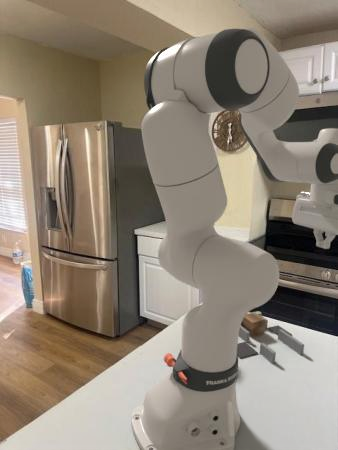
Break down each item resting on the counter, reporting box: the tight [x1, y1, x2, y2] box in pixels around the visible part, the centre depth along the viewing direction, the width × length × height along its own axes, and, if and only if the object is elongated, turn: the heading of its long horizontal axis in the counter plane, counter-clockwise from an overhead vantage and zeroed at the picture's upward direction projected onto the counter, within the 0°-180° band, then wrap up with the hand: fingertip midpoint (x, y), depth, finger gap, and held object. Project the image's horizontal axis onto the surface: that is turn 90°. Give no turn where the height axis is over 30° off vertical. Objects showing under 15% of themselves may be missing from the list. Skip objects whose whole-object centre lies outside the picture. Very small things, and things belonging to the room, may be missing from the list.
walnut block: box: [241, 312, 266, 338], centre depth 104 cm, size 5×5×5 cm
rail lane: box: [238, 310, 305, 364], centre depth 99 cm, size 11×20×4 cm, turn 24°
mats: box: [237, 325, 293, 359], centre depth 100 cm, size 22×10×1 cm, turn 114°
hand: (322, 247), depth 88 cm, fingers closed
